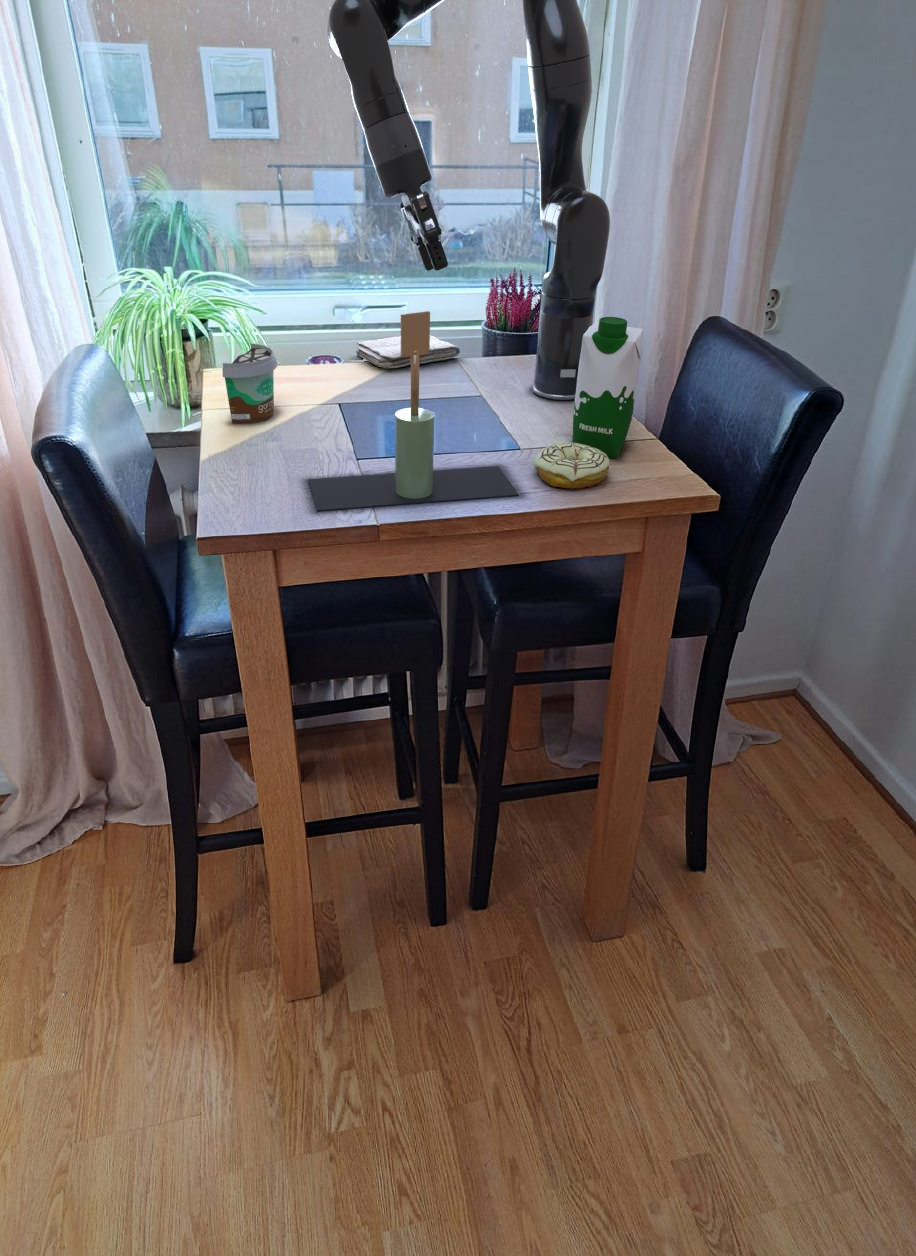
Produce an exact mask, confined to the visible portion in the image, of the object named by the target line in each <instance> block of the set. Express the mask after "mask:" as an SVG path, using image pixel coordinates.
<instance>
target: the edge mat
mask: <svg viewBox="0 0 916 1256" xmlns="http://www.w3.org/2000/svg"><path fill="white" fill-rule="evenodd" d="M307 481H308V483H309V484H308V485H309V487H310V491H311V494H312V499H313V502H314V506H315V510H316V512H329V511H341V510H342V511H343V510H353V509H354V510H355V509H367V508H380V507H391V506H405V505H417V504H430V503H431V504H432V503H442V502H443V503H444V502H454V501H457V502H458V501H470V500H480V499H481V500H482V499H483V500H484V499H493V498H494V499H496V498H507V497H519V495H520V494H519V493H518V491H517V489H516V488H515V487H514V486H513V484H512V483H511V481H510V480H509V479H508V477H507V476H506V475H505V473H504V472H503V470H502V469H501V468H500V466H499V465H495V466H494V465H493V466H481V467H480V466H479V467H469V468H468V467H464V468H453V469H452V468H451V469H438V470H437V469H436V470H435V469H434V470H433V492H432V494H431V495H429V496H427V497H425V498H419V499H410V498H405V497H402V496H399V495H398V494H397V493H396V491H395V472H393V473H380V474H366V475H353V476H352V475H350V476H337V477H323V478H310V479H309V478H308V480H307Z"/></svg>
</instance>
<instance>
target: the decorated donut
mask: <svg viewBox="0 0 916 1256" xmlns="http://www.w3.org/2000/svg"><path fill="white" fill-rule="evenodd" d="M610 465H611V461H610V458H608V457H607V455H606V454H605V453H603V452H602V451H600V450H599V449H597V448H593V447H590V446H587V445H583V444H579V443H573V441H572V442H571V441H568V442H567V441H566V442H558V443H557V442H556V443H553V444H550V445H548V446H546V447H544V448H542V449H541V450H540V451H539V453H538V454H537V455H536V456H535V458H534V461H533V467H534V469H535V470H536V471H537V474H538V475H539V477H540V478H541V480H542V481H544V482H545V483H547V485H550V486H551V487H553V488H554V487H555V488H561V489H562V488H563V489H583V488H588V487H592V486H594V485H596V484H599V483H602V481H603V480H604V479H605V478H606V476H607V474H608V473H609V471H610Z"/></svg>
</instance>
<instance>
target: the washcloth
mask: <svg viewBox="0 0 916 1256" xmlns="http://www.w3.org/2000/svg"><path fill="white" fill-rule="evenodd" d="M355 347H356V349H357V350H356V351H355V354H356V355H357V356H358V357H360V358H362V359H364V360H365V361H366V362H368V363H371V364H373V365H374V366H376V367H379V368H382V369H386V370H389V369H398V368H403V367H407V366H409V365H410V366H411V356H409V357H401V335H399V336H392V337H385V338H379V339H372V340H365V341H364V340H361V341H359V342H357V343H356V345H355ZM460 354H461V349H460V347H458V346H457V345H454V344H452V343H450V342H448V341H443V340H441V339H440V338H438V337H436V336H433V335H432V334H430V352H429V354H423V355H419V365H422V364H428V363H432V362H439V361H445V360H450V359H454V358H456V357H458V356H459V355H460Z"/></svg>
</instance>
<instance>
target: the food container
mask: <svg viewBox="0 0 916 1256" xmlns="http://www.w3.org/2000/svg"><path fill="white" fill-rule="evenodd" d="M277 368H278V362H277V358H276V355H275V353H274V351H273V349H272V348H270V347H269V346H267V345H264V344H260V343H253V342H250V349H248V351H247V352H245V353H243V354H239V355H238V356H237V357H236V358H235V359H234V360H233V361H232V362H231V363H228V362H222V378H224V381H225V389H226V394H227V395H226V396H227V401H228V406H229V413H230V419H231V424H232V425H233V424H236V425H248V424H249V425H250V424H256V423H261V422H264V421H267V420H269V419H271V418H273V416H274V414H275V399H274V398H275V393H274V392H275V389H274V388H275V387H274V385H275V384H274V382H275V380H274V378H275V377H274V376H275V375H274V370H276V369H277Z"/></svg>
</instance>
